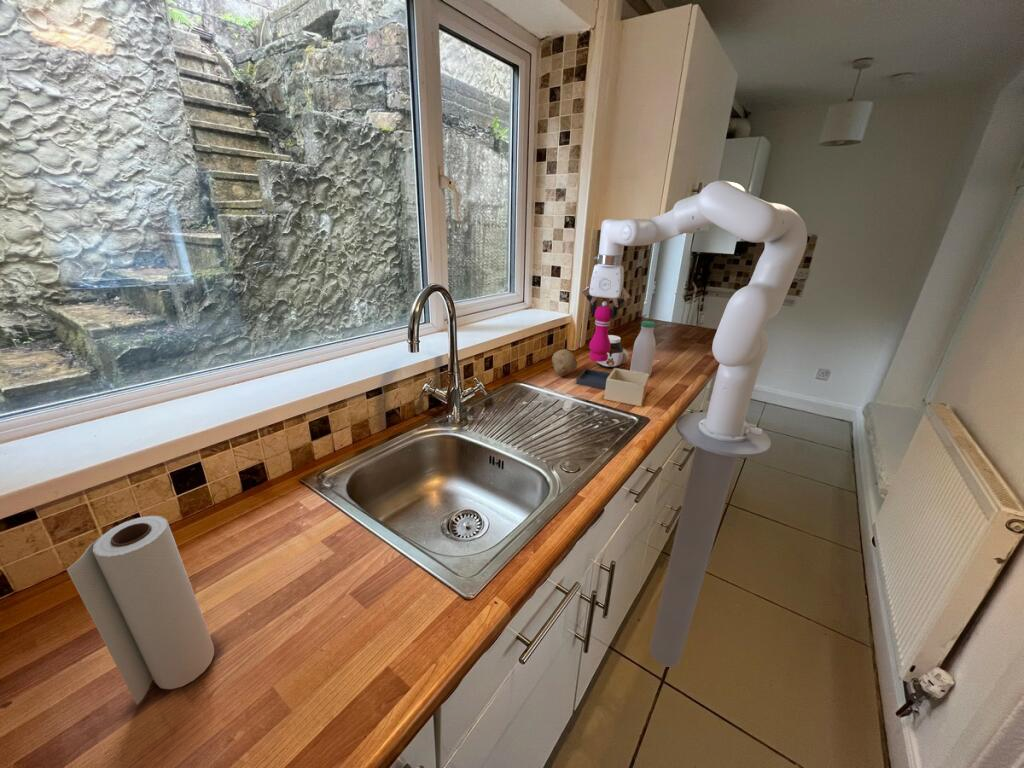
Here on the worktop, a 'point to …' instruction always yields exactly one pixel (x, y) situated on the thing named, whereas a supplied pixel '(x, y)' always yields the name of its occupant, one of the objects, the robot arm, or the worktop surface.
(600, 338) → the pepper mill
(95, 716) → the worktop surface
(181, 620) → the paper towel roll
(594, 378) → the tray
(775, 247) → the robot arm
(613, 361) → the spread jar
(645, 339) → the milk bottle
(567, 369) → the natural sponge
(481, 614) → the worktop surface
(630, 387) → the open box
